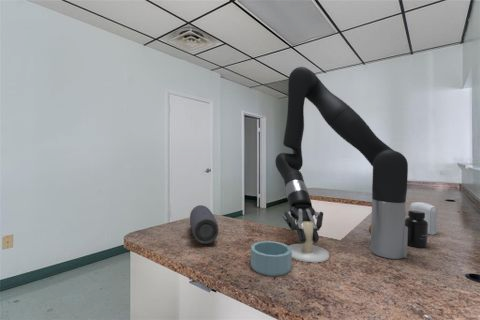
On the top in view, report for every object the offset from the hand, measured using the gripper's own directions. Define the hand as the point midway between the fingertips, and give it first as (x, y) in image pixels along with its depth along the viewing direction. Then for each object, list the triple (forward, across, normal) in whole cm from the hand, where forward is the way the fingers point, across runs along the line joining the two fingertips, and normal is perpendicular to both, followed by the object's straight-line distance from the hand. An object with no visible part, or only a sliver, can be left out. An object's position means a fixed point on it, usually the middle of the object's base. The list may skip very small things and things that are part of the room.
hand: (310, 241), depth 75 cm
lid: (+2, 0, +5) cm, 5 cm away
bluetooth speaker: (-11, -33, +18) cm, 39 cm away
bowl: (+7, -14, -1) cm, 15 cm away
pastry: (-13, +40, +20) cm, 46 cm away
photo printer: (-14, +60, +20) cm, 65 cm away
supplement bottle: (-3, +43, +10) cm, 44 cm away
